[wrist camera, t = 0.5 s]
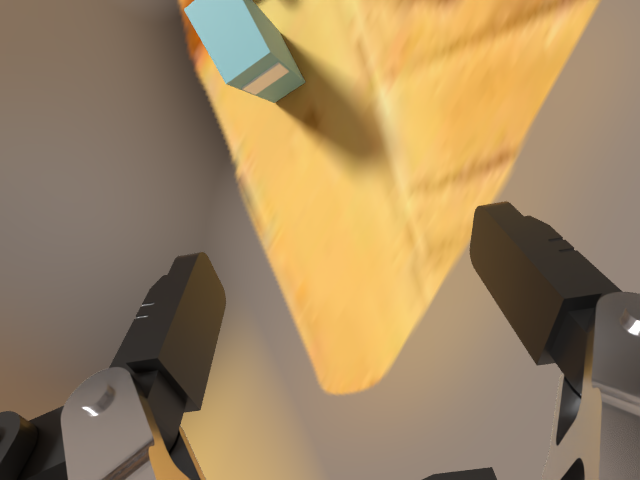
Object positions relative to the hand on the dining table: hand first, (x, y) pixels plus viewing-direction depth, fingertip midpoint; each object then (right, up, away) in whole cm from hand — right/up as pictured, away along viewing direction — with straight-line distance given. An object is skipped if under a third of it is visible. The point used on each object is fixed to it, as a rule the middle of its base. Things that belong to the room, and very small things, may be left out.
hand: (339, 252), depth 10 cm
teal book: (-5, +19, +24) cm, 31 cm away
